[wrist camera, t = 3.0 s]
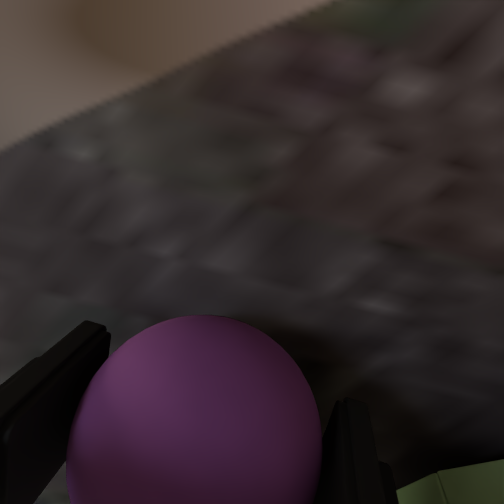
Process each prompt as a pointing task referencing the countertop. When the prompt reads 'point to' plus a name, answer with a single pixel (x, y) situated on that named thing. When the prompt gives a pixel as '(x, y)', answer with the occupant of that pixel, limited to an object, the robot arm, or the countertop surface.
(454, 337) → the countertop surface
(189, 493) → the ball
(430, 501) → the bowl
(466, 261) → the countertop surface
